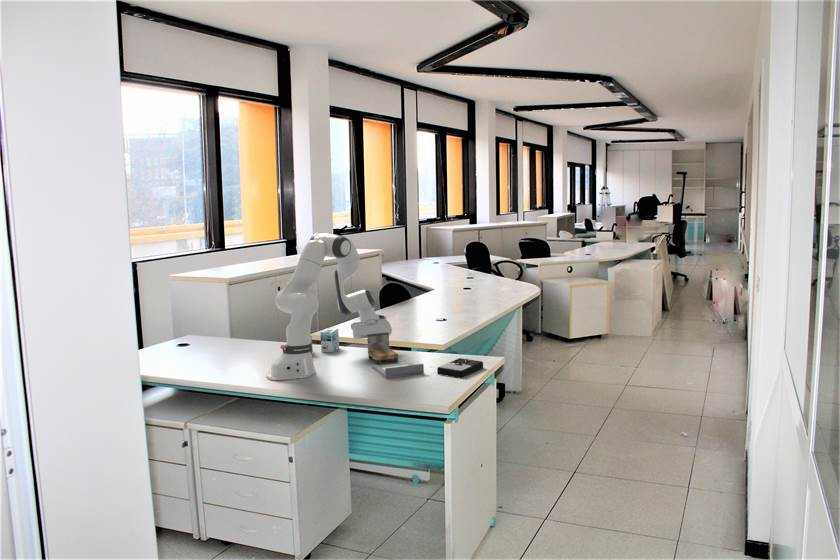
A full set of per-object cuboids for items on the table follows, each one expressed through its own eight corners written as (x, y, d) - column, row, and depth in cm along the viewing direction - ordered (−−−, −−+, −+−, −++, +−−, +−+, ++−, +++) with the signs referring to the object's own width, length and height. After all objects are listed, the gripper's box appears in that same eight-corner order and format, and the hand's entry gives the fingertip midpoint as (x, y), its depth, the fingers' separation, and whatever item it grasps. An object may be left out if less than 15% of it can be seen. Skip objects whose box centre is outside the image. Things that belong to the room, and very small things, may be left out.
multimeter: (483, 369, 318) (483, 358, 317) (461, 379, 302) (461, 368, 302) (459, 365, 325) (459, 355, 325) (437, 375, 310) (436, 364, 309)
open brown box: (376, 365, 329) (375, 340, 328) (367, 358, 342) (366, 334, 341) (398, 362, 333) (397, 337, 332) (389, 355, 346) (388, 332, 345)
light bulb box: (333, 352, 358) (332, 332, 356) (320, 352, 359) (319, 332, 358) (339, 347, 368) (338, 328, 367) (327, 347, 370) (326, 327, 368)
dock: (386, 380, 305) (385, 368, 304) (370, 368, 327) (370, 357, 326) (423, 375, 311) (423, 364, 311) (406, 364, 333) (405, 353, 332)
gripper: (350, 319, 349) (357, 342, 341) (388, 315, 356) (395, 337, 348) (348, 326, 354) (354, 348, 346) (386, 322, 361) (393, 344, 353)
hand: (375, 343), depth 347 cm, fingers closed
